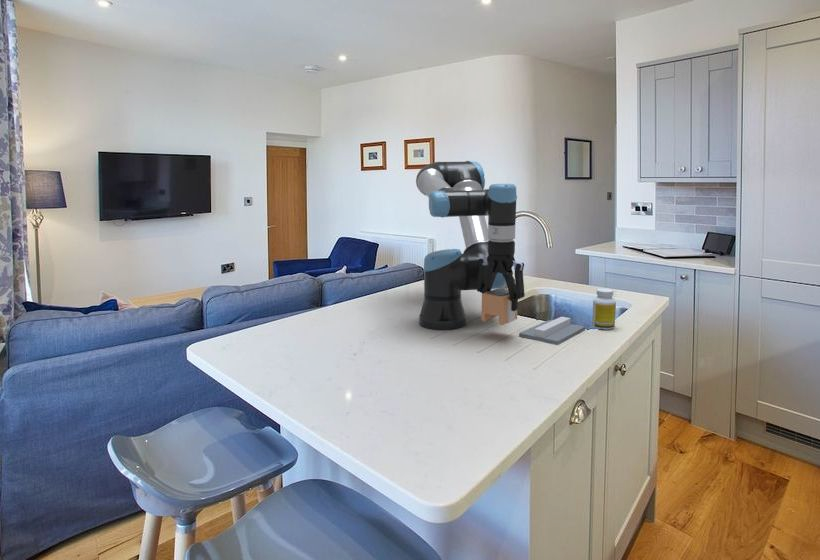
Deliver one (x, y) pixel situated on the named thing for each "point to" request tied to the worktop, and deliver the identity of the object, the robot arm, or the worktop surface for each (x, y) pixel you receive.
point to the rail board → (555, 335)
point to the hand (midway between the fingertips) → (499, 318)
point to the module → (496, 305)
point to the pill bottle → (604, 310)
